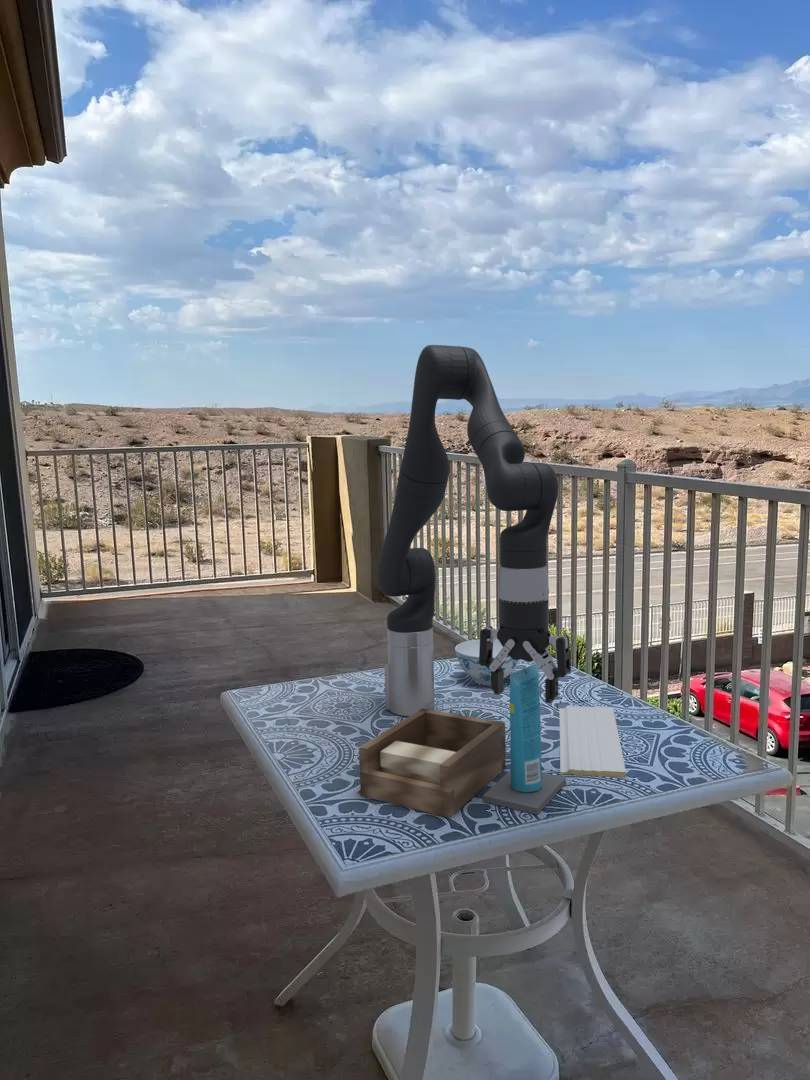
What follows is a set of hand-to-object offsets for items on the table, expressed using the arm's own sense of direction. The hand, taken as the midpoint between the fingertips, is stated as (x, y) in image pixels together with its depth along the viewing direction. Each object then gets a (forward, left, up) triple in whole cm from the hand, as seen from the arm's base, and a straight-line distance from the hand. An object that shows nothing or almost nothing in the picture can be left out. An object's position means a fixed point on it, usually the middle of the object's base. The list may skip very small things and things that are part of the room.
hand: (524, 697), depth 128 cm
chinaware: (-29, +49, -16) cm, 59 cm away
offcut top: (-15, -8, -11) cm, 20 cm away
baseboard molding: (+1, +25, -16) cm, 30 cm away
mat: (0, 0, -16) cm, 16 cm away
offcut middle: (-15, -8, -14) cm, 21 cm away
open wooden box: (-14, -3, -16) cm, 22 cm away
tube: (0, 0, -15) cm, 15 cm away
